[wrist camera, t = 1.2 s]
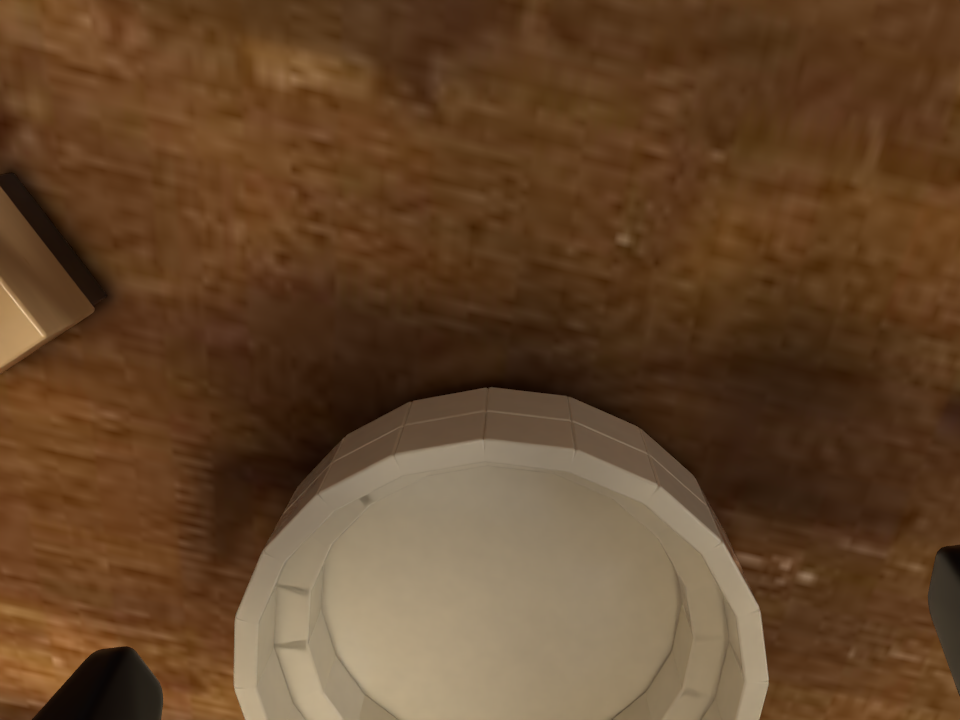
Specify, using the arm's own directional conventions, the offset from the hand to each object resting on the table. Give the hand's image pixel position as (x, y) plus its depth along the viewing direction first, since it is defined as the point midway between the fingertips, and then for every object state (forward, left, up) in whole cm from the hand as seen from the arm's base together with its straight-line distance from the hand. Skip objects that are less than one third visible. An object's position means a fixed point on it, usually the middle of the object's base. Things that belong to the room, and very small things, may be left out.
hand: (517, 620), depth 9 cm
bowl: (-9, 0, -13) cm, 16 cm away
